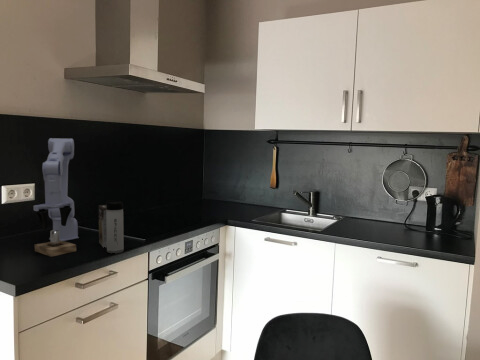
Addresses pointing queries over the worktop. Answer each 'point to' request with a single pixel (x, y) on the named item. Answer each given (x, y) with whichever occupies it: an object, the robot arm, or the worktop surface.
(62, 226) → the robot arm
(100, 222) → the coffee box
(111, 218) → the travel mug
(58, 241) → the metal peg
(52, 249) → the socket plate
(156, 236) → the worktop surface
